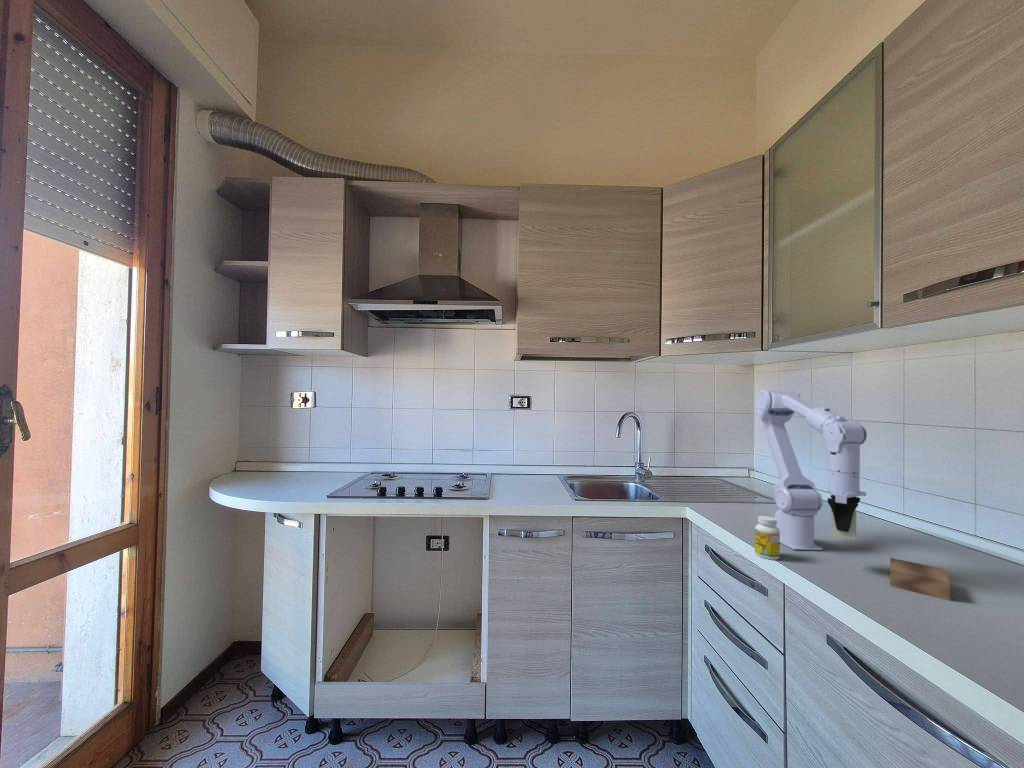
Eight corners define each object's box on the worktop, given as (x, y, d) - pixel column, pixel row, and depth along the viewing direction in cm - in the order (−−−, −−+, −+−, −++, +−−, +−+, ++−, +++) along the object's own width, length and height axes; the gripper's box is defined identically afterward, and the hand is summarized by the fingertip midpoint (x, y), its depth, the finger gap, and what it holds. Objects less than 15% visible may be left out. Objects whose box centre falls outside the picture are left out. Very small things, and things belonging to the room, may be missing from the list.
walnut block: (890, 587, 90) (890, 569, 90) (890, 575, 96) (890, 557, 97) (950, 602, 84) (950, 582, 84) (946, 588, 90) (946, 569, 91)
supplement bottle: (784, 559, 103) (785, 520, 103) (766, 560, 102) (766, 521, 102) (767, 551, 108) (768, 514, 109) (749, 552, 107) (750, 515, 108)
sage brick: (831, 535, 99) (831, 509, 99) (833, 531, 102) (833, 506, 102) (854, 540, 96) (855, 513, 96) (856, 535, 99) (856, 510, 99)
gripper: (864, 477, 91) (863, 540, 91) (867, 470, 102) (867, 525, 102) (824, 473, 96) (823, 532, 96) (831, 466, 107) (831, 519, 106)
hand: (843, 528), depth 99 cm, fingers closed on sage brick, 4 cm apart
